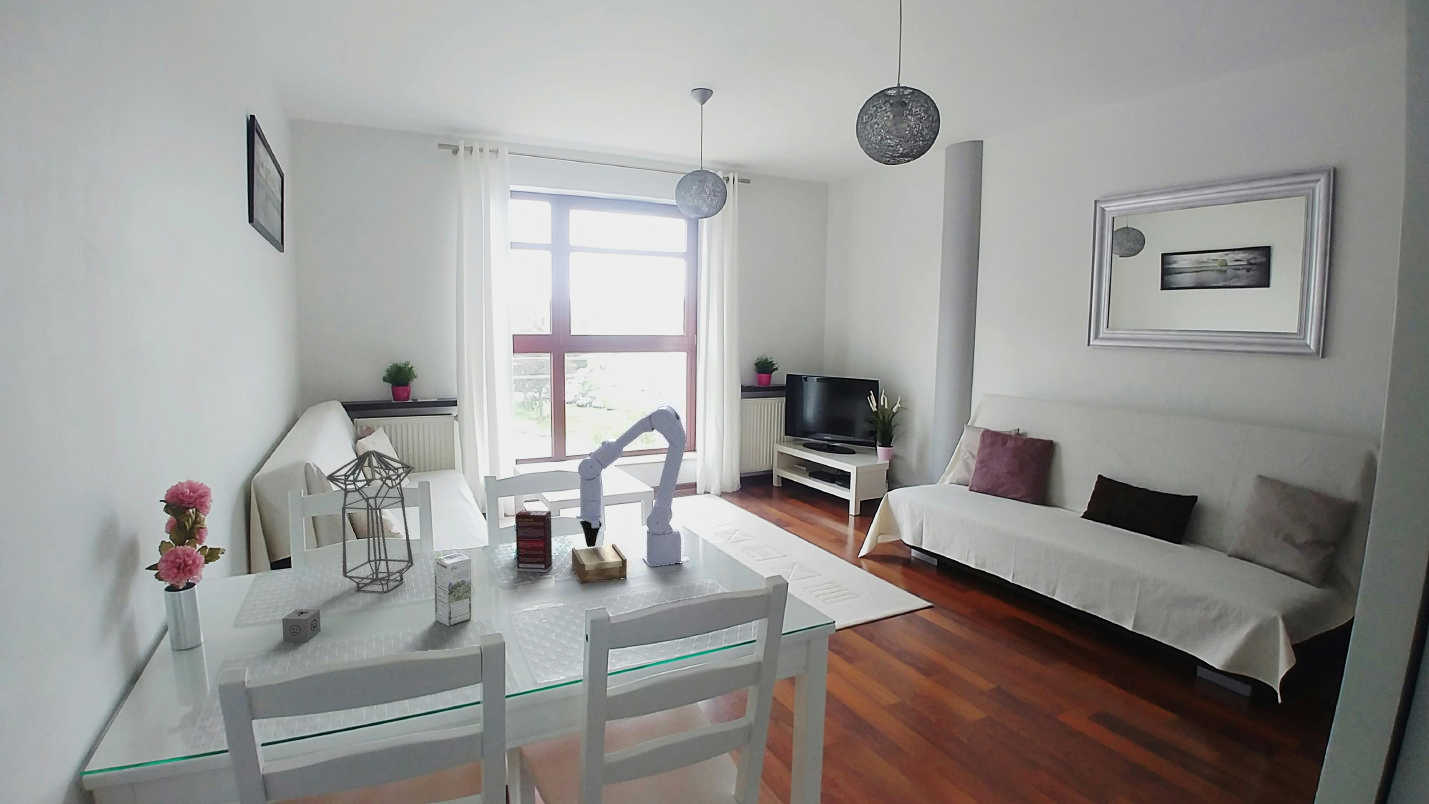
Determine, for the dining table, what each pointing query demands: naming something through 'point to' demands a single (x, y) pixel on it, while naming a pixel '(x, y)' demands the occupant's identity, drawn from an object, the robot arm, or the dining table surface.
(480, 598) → the dining table surface
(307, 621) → the dice cube
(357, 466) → the geometric lantern
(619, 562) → the lid
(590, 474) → the robot arm
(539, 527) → the supplement box
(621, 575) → the box
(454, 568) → the syrup box
